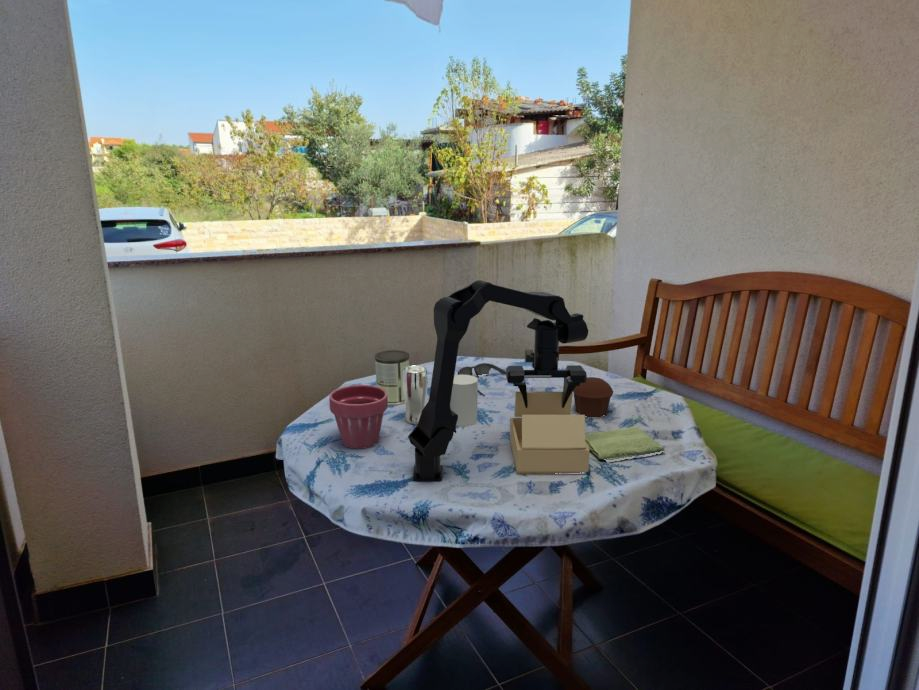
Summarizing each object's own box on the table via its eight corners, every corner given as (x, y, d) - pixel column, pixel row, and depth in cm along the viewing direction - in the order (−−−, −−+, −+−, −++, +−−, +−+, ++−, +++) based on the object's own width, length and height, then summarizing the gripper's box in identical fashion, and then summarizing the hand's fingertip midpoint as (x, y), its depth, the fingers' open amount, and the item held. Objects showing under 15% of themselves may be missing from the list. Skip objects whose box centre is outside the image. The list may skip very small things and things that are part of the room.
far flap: (572, 392, 136) (572, 391, 137) (515, 392, 136) (515, 391, 137) (570, 417, 139) (569, 415, 140) (514, 416, 139) (514, 415, 140)
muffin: (598, 402, 166) (600, 371, 163) (619, 416, 156) (622, 383, 153) (563, 407, 162) (564, 375, 160) (582, 422, 152) (585, 388, 149)
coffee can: (379, 392, 174) (377, 349, 170) (411, 393, 173) (411, 350, 170) (373, 405, 164) (371, 359, 160) (408, 405, 163) (407, 360, 160)
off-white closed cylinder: (483, 420, 153) (483, 379, 150) (462, 429, 148) (462, 386, 144) (462, 412, 159) (462, 372, 155) (441, 420, 153) (441, 379, 150)
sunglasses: (490, 373, 192) (492, 360, 190) (522, 393, 180) (523, 379, 178) (451, 382, 183) (452, 369, 182) (481, 403, 171) (482, 389, 169)
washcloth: (576, 442, 141) (577, 430, 140) (638, 435, 145) (639, 423, 144) (601, 466, 129) (602, 453, 128) (667, 457, 133) (669, 445, 132)
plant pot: (398, 433, 145) (396, 388, 141) (372, 457, 132) (370, 407, 128) (350, 426, 149) (348, 381, 146) (321, 448, 137) (317, 399, 133)
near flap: (521, 414, 124) (522, 414, 123) (584, 414, 124) (584, 414, 123) (521, 447, 123) (522, 447, 123) (584, 447, 123) (585, 447, 123)
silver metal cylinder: (421, 427, 149) (420, 374, 145) (398, 423, 151) (397, 371, 147) (432, 417, 155) (431, 366, 151) (410, 413, 158) (408, 363, 153)
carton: (587, 474, 124) (589, 450, 123) (516, 474, 124) (517, 450, 123) (572, 439, 142) (573, 417, 140) (509, 439, 142) (510, 417, 140)
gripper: (579, 337, 139) (576, 396, 143) (504, 337, 139) (504, 396, 143) (588, 349, 128) (585, 412, 132) (508, 349, 128) (507, 412, 132)
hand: (544, 407), depth 135 cm, fingers closed on far flap, 8 cm apart
